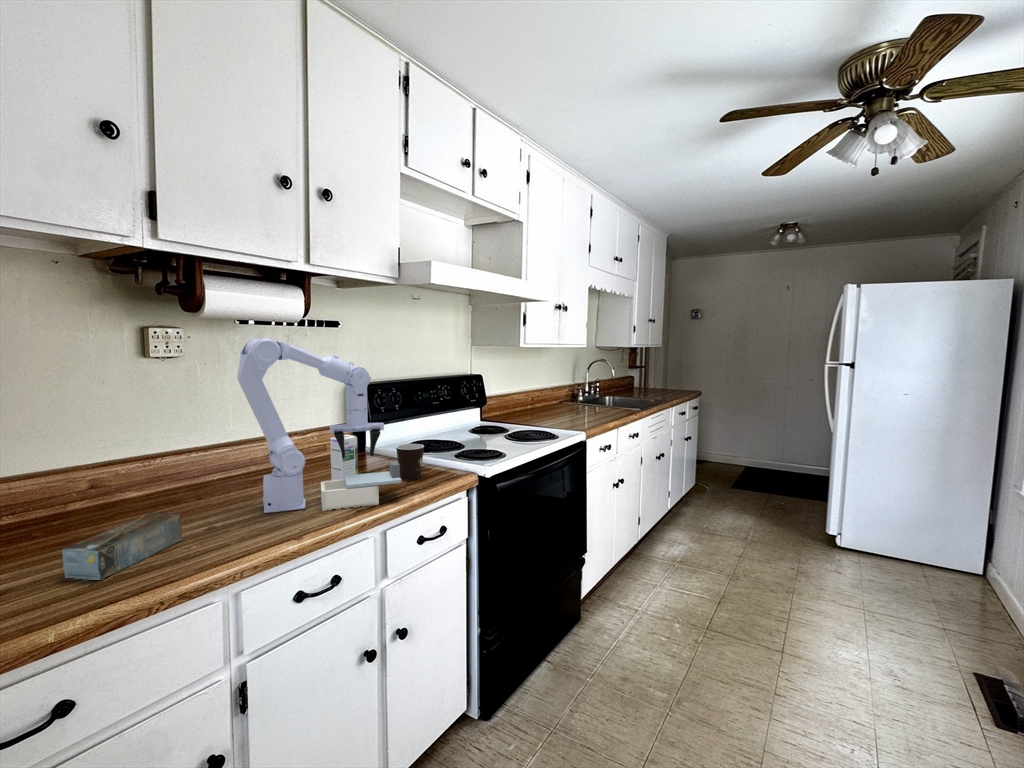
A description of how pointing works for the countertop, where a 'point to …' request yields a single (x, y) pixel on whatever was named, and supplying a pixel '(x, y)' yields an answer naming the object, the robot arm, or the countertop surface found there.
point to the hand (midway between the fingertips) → (357, 456)
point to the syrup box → (344, 464)
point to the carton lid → (375, 477)
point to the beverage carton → (121, 546)
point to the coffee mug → (410, 460)
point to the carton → (347, 495)
